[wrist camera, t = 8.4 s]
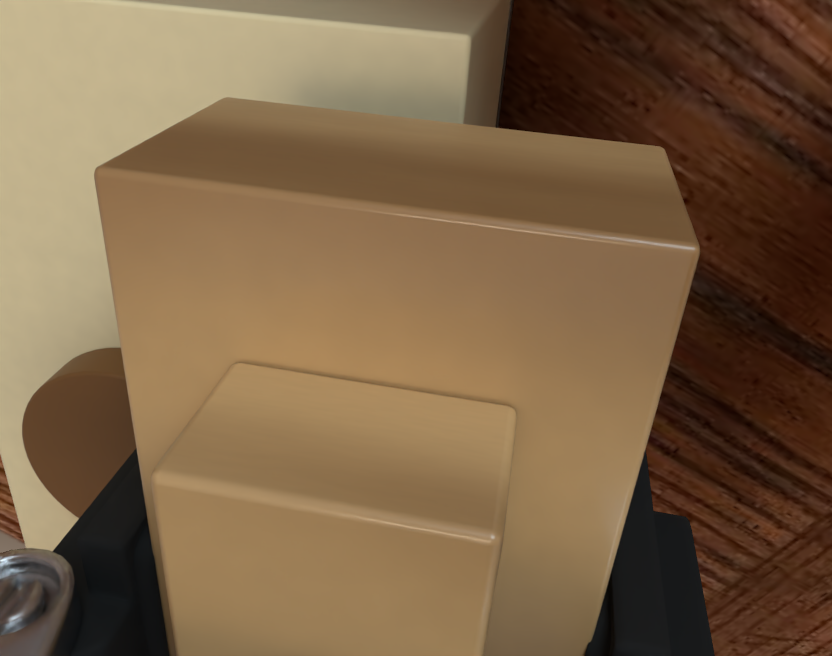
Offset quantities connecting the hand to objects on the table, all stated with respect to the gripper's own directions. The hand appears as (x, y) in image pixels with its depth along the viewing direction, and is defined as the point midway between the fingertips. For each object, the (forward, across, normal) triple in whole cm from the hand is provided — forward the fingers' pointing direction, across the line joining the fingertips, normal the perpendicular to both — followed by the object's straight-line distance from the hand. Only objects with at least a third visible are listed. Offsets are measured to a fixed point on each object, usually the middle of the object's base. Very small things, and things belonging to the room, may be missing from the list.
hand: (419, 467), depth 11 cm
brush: (0, 0, 0) cm, 0 cm away
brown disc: (+1, +5, +1) cm, 5 cm away
